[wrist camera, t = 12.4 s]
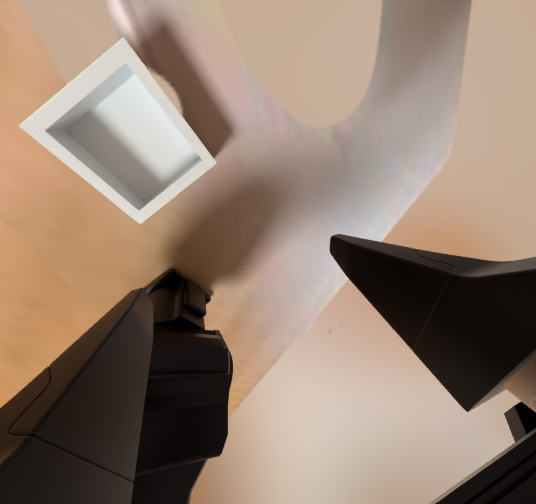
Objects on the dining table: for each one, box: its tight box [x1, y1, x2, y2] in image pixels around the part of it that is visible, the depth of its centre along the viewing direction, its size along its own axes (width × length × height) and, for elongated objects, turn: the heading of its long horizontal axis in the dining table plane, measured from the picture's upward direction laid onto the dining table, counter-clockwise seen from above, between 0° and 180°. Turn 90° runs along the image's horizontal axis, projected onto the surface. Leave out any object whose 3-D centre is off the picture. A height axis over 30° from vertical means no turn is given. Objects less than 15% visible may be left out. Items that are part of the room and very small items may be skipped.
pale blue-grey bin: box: [19, 37, 217, 224], centre depth 15 cm, size 8×8×3 cm
